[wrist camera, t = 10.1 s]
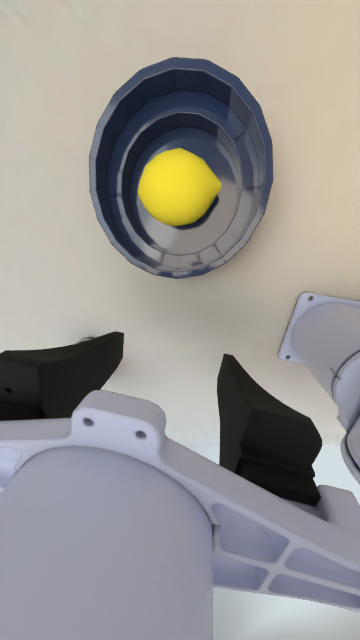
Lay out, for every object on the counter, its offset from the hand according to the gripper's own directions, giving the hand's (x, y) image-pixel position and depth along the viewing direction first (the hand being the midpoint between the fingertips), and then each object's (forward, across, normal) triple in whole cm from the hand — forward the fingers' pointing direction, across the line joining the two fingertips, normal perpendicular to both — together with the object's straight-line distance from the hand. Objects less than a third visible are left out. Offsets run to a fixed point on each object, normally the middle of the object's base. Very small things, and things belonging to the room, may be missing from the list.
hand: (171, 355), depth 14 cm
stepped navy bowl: (+10, +2, -11) cm, 16 cm away
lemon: (+10, +2, -11) cm, 15 cm away
